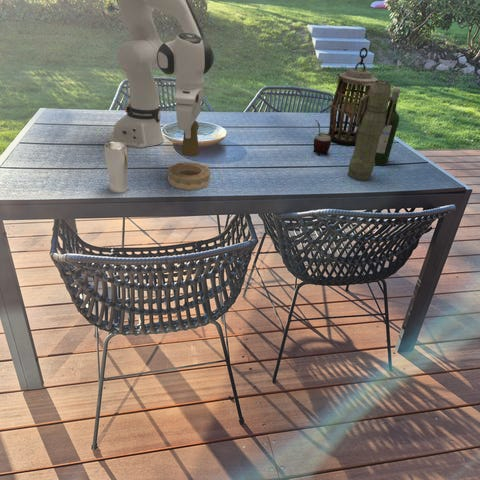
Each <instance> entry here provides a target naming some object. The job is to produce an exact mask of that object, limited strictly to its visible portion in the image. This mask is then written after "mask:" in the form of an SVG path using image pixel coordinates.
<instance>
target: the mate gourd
mask: <svg viewBox="0 0 480 480" xmlns="http://www.w3.org/2000/svg"><path fill="white" fill-rule="evenodd" d="M314 120H315V122H316V123H317V127H318V133H317V134H316V135H315V136H314V139H313V151H312V152H313V153H317V156H318V157H319V156H321V155H324V156H328V152H329V150H330V148H331V144H332V142H331V138H330V135H328V133H324V132H321V125H320V123H319V121H318V120H317V119H314Z"/></svg>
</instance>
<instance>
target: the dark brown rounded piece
mask: <svg viewBox="0 0 480 480" xmlns="http://www.w3.org/2000/svg"><path fill="white" fill-rule="evenodd" d="M199 126H200V125H199V122H198V121H197V120H196V121H195V122H194V123H193V125H192V127H191V138H185V131H184V130H183V131H184V132H183V138H182V146H181V155H183V156H185V157H189V158H191V157H197V156H199V155H200V146H199V137H198V131H199Z"/></svg>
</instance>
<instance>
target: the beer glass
mask: <svg viewBox="0 0 480 480" xmlns="http://www.w3.org/2000/svg"><path fill="white" fill-rule="evenodd" d="M128 155H129V154H128V150H127V145H126V144H125V143H122V142H109V141H108V142H107V143H105V144H104V161H105V166H106V171H107V173H108V177H109V185H108V186H109V187H108V188H109V191H110V192H112V193H113V194H115V193H116V194H122V193H126V192H127V191H128V190H129V184H128V180H127V179H128V178H127V177H128V176H127V174H128V173H127V172H128V166H129V165H128V164H129V158H128Z"/></svg>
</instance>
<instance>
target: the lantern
mask: <svg viewBox="0 0 480 480" xmlns="http://www.w3.org/2000/svg"><path fill="white" fill-rule="evenodd" d="M363 51H365V55H364V54H362V52H363ZM368 52H369V50H368V49H367V47H366V46H365V47H362V48H361V49H360V51H359V57H360V61H359V62H357V64H356V65H355V68H348V70H347V71H345V72H341V73H338V74H337V76H338V77H337V78H338V82H337V85H336V88H335V92H334V95H333V99H332V101H331V102H332V103H331V105H330V113H329V128H328V132H327V134H328V135H330V138H331V144H334V145H335V144H336V145H338V146H341V145H342V147H349V146H354V147H355V145H356V140H357V136H358V126H359V125H358V124H357V123H356V117H357V113H358V108H359V104H360V99H361V98H362V97H363V96H364V95H367V94H368V90H369V88H370V86H371V85H372V83H373V82H375V81H379V79H378V77H376V76H374V75H372V72H371V71H370V70H368V69H366V67H367V66H366V65H365V63H364V59H366V57H367V55H368ZM358 66H363V68H362V69H361V68H358ZM366 99H367V98H366ZM366 99H365V101H364V105H363V109H362V113H363V111H364V108H365V106H366ZM362 113H361V115H362Z"/></svg>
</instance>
